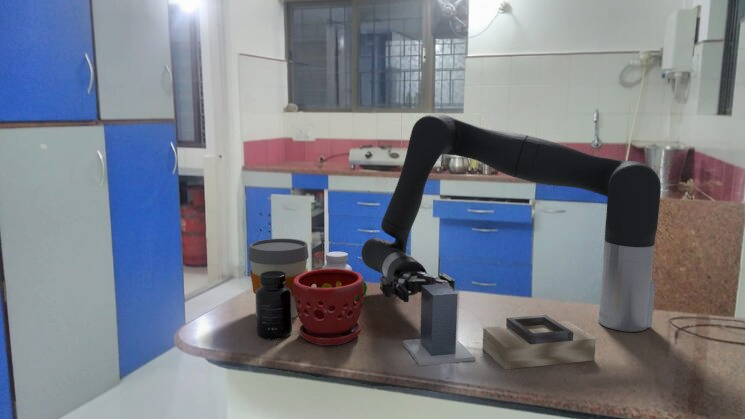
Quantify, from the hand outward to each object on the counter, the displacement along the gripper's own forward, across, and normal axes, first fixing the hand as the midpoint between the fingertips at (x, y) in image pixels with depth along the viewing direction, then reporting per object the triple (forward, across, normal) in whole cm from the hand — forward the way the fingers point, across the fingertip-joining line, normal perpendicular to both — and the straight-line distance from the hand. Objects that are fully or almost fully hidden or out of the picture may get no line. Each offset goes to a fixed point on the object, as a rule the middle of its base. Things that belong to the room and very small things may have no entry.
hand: (429, 295), depth 107 cm
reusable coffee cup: (-22, -26, +9) cm, 35 cm away
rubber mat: (+5, 0, +9) cm, 10 cm away
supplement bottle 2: (-20, -14, +9) cm, 26 cm away
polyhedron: (-28, -8, +9) cm, 30 cm away
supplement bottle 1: (-10, -28, +9) cm, 31 cm away
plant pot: (-6, -18, +9) cm, 21 cm away
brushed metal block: (+5, 0, +8) cm, 10 cm away
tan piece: (+10, +17, +9) cm, 22 cm away
